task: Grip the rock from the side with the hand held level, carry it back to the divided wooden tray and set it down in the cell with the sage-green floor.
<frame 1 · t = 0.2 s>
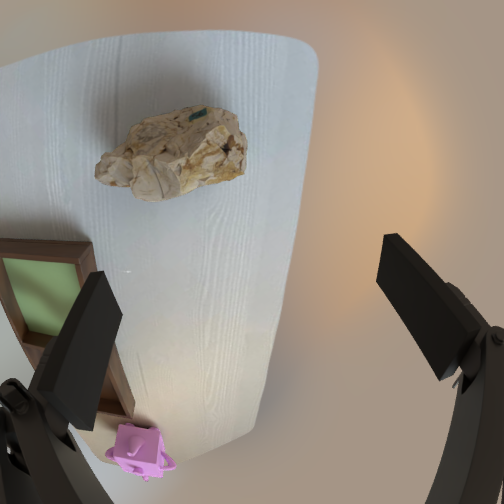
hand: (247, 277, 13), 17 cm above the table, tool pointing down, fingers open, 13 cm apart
teapot: (144, 431, 51), on the table
divided wooden tray: (68, 335, 36), on the table
rock: (178, 143, 26), on the table
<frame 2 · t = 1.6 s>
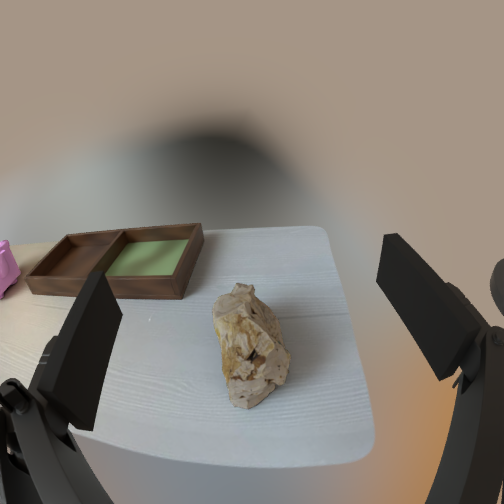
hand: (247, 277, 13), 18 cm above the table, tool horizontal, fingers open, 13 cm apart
teapot: (2, 289, 46), on the table
divided wooden tray: (112, 268, 49), on the table
rock: (255, 360, 31), on the table
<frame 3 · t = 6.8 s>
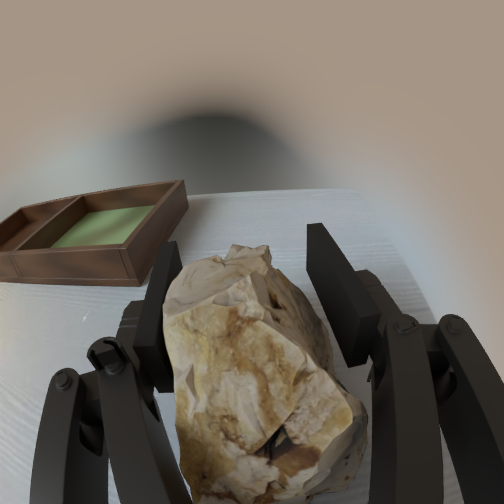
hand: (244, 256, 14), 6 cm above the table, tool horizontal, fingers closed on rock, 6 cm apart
divided wooden tray: (60, 245, 32), on the table
rock: (269, 409, 13), on the table, touching gripper
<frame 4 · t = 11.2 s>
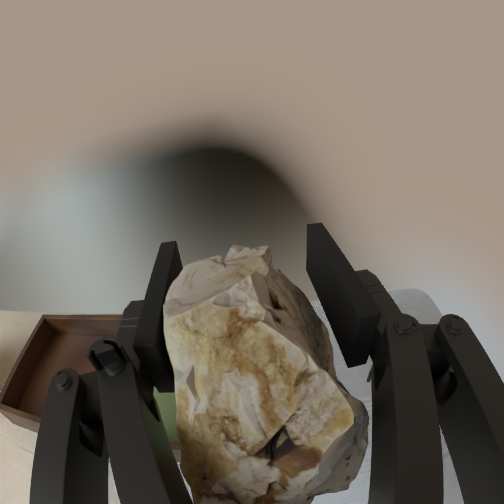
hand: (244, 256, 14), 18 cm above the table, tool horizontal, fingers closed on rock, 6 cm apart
divided wooden tray: (132, 388, 28), on the table
rock: (269, 409, 13), point 12 cm above the table, touching gripper
when the fingers open (7 cm above the table, at t = 16.0 s): rock stays where it is, resting on divided wooden tray.
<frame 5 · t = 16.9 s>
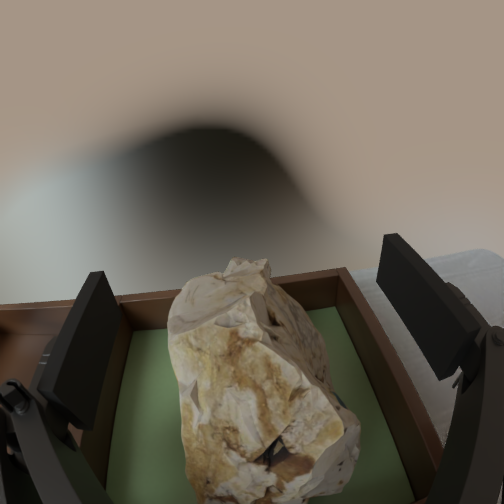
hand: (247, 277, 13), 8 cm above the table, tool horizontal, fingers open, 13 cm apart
divided wooden tray: (115, 425, 14), on the table
rock: (269, 415, 14), point 1 cm above the table, touching divided wooden tray
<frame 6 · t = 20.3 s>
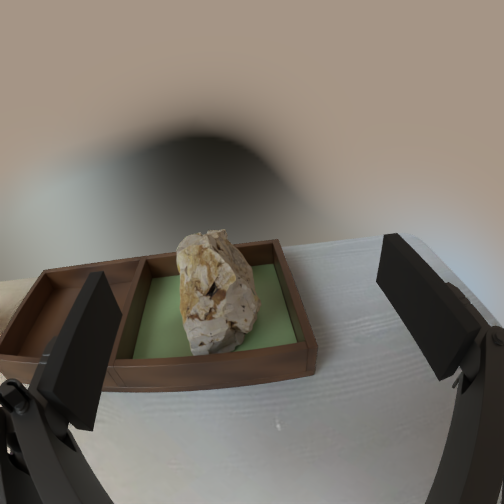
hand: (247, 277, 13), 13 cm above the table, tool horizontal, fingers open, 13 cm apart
divided wooden tray: (140, 327, 29), on the table
rock: (226, 314, 29), point 1 cm above the table, touching divided wooden tray
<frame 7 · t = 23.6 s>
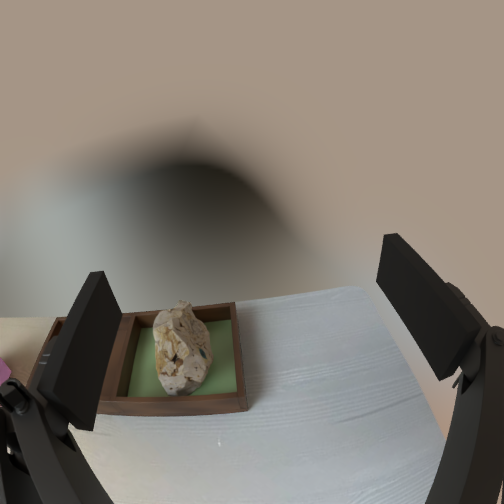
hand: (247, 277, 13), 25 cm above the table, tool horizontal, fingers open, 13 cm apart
divided wooden tray: (133, 368, 38), on the table
rock: (192, 362, 38), point 1 cm above the table, touching divided wooden tray
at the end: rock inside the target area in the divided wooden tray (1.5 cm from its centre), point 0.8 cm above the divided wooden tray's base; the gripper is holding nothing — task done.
